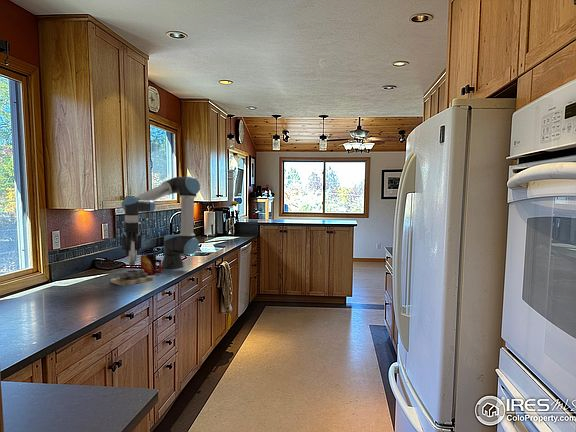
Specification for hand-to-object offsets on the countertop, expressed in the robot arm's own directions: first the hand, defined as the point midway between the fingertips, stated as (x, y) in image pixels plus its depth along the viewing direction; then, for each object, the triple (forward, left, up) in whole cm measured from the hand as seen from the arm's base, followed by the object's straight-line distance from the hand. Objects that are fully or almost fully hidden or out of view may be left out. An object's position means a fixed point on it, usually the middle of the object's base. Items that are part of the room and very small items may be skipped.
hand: (131, 261), depth 230 cm
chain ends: (0, 0, -12) cm, 12 cm away
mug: (-20, -9, -13) cm, 26 cm away
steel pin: (0, 0, -2) cm, 2 cm away
